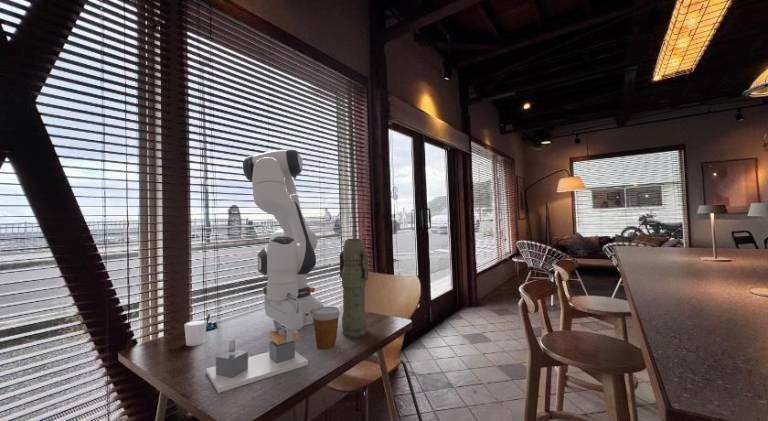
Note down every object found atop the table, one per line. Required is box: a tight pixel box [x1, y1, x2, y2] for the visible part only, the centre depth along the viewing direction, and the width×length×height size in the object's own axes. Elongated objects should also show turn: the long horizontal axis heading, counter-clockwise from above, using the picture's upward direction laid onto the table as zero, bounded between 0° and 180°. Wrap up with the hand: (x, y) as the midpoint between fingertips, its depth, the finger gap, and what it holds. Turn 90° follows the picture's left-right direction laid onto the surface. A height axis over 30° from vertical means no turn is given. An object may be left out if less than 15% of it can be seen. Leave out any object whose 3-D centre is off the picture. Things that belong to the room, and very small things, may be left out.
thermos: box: [339, 238, 369, 339], centre depth 122 cm, size 9×12×35 cm
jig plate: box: [205, 328, 309, 394], centre depth 94 cm, size 24×14×10 cm, turn 129°
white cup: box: [183, 319, 207, 347], centre depth 115 cm, size 7×7×7 cm
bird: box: [205, 313, 218, 332], centre depth 130 cm, size 8×7×8 cm
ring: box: [268, 327, 300, 345], centre depth 99 cm, size 6×6×2 cm
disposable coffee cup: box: [311, 306, 341, 351], centre depth 110 cm, size 10×10×12 cm
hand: (283, 337), depth 99 cm, fingers closed on ring, 6 cm apart
